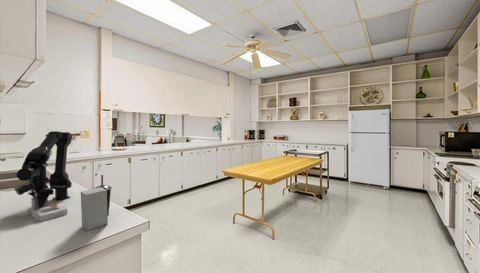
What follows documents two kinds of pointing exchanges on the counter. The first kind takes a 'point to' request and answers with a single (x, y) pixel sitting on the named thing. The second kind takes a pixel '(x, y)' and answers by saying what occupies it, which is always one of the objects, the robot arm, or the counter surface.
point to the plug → (35, 204)
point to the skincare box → (94, 208)
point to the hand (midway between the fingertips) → (39, 207)
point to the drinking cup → (107, 193)
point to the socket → (48, 212)
